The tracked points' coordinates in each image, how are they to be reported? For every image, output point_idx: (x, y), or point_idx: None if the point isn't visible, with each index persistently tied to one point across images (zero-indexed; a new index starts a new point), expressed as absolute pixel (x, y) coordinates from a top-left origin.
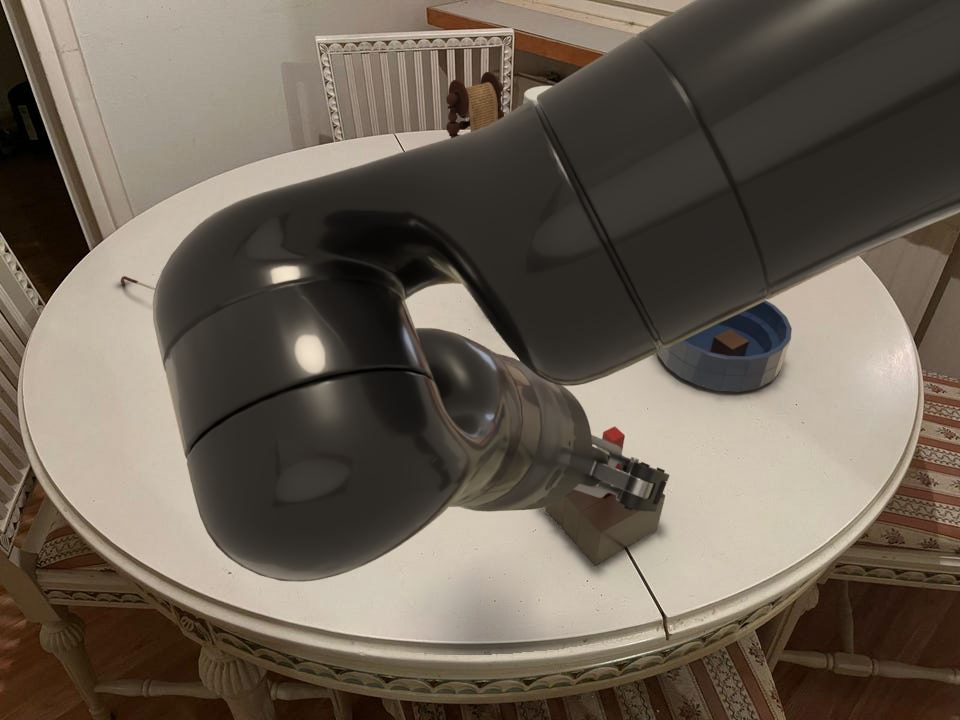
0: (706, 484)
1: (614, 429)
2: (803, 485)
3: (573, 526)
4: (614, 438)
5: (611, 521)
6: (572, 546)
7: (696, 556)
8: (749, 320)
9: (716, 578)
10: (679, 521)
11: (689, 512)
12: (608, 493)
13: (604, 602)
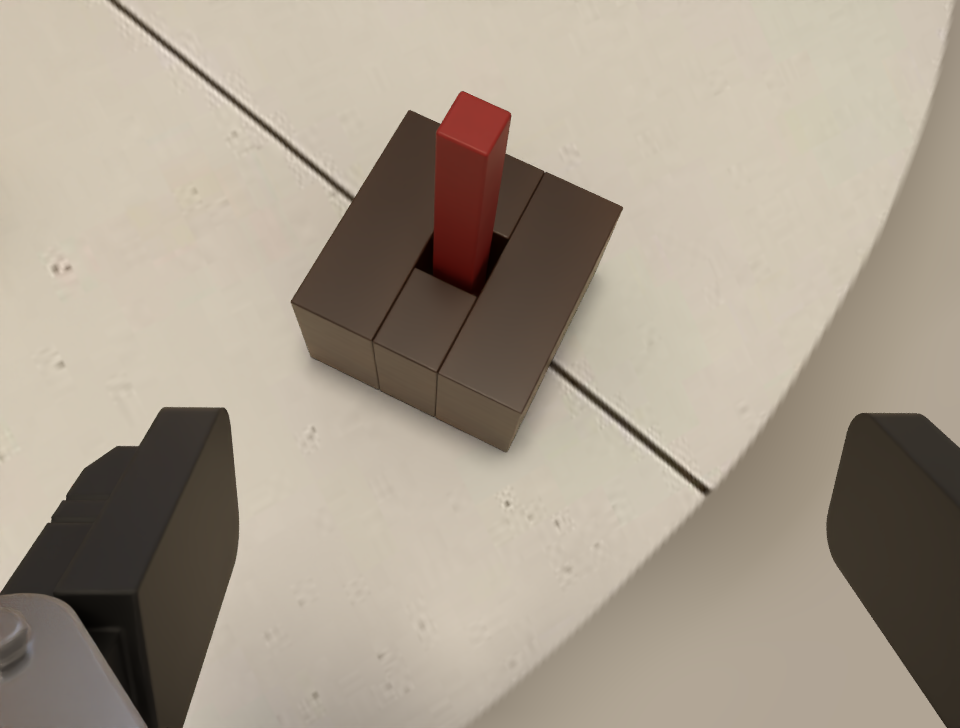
0: (642, 95)
1: (466, 104)
2: (831, 3)
3: (416, 391)
4: (485, 142)
5: (531, 361)
6: (427, 427)
7: (708, 301)
8: None
9: (772, 336)
10: (631, 226)
11: (641, 190)
12: (478, 271)
13: (573, 539)
